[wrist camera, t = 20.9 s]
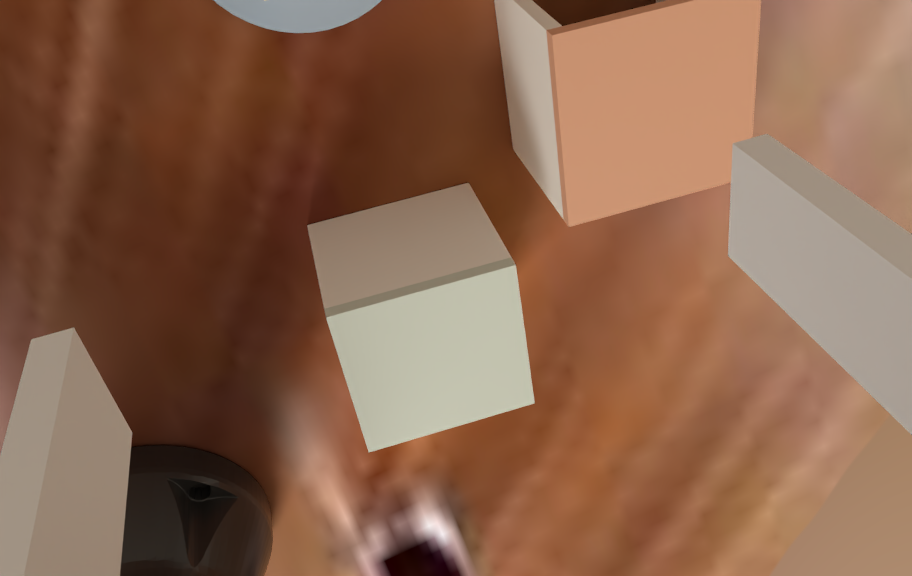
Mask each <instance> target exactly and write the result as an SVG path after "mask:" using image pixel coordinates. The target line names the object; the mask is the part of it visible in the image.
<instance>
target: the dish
mask: <svg viewBox="0 0 912 576" xmlns="http://www.w3.org/2000/svg"><path fill="white" fill-rule="evenodd" d="M214 1H215V2H216V3H217V4H218V5H220V6H221V7H223V8H224V9H226V10H227V11H229V12H230V13H232V14H233V15H235V16H237V17H239V18H241V19H243V20H245V21H247V22H249V23H252V24H254V25H257V26H260V27H263V28H266V29H271V30H275V31H280V32H290V33H312V32H318V31H324V30H329V29H332V28H335V27H339V26H342V25H344V24H346V23H348V22H351V21H353V20H355V19H357V18H359V17H360V16H362V15H363V14H365V13H366V12H368V11H370V10H371V9H372V8H373V7H374V6H376V5H377V4H378V3H379V2H380V1H382V0H266V1H264V0H214Z"/></svg>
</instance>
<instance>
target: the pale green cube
mask: <svg viewBox="0 0 912 576" xmlns="http://www.w3.org/2000/svg"><path fill="white" fill-rule="evenodd" d="M307 228H308V233H309V237H310V242H311V247H312V252H313V257H314V262H315V267H316V272H317V276H318V281H319V286H320V291H321V296H322V301H323V306H324V310H325V315H326V319H327V322H328V326H329V329H330V332H331V335H332V338H333V341H334V344H335V348H336V351H337V354H338V357H339V360H340V363H341V366H342V370H343V373H344V376H345V379H346V382H347V385H348V388H349V392H350V395H351V398H352V401H353V404H354V407H355V410H356V414H357V417H358V420H359V423H360V426H361V429H362V432H363V436H364V439H365V442H366V445H367V448H368V451H369V452H372V451H376V450H379V449H382V448H386V447H389V446H392V445H396V444H399V443H402V442H406V441H409V440H413V439H416V438H419V437H423V436H426V435H429V434H433V433H436V432H440V431H443V430H446V429H450V428H453V427H456V426H460V425H463V424H466V423H470V422H473V421H477V420H480V419H483V418H487V417H490V416H493V415H497V414H500V413H503V412H507V411H510V410H514V409H517V408H520V407H524V406H527V405H530V404H534V403H535V402H534V395H533V388H532V380H531V373H530V366H529V358H528V351H527V344H526V336H525V329H524V321H523V314H522V307H521V299H520V292H519V285H518V277H517V270H516V264H515V263H514V261H513V259H512V257H511V256H510V254H509V252H508V250H507V249H506V247H505V245H504V243H503V242H502V240H501V238H500V236H499V235H498V233H497V231H496V229H495V228H494V226H493V224H492V222H491V221H490V219H489V217H488V216H487V214H486V212H485V210H484V209H483V207H482V205H481V203H480V202H479V200H478V198H477V196H476V195H475V193H474V191H473V189H472V188H471V186H470V184H469V183H465V184H461V185H457V186H454V187H450V188H446V189H442V190H439V191H435V192H431V193H427V194H423V195H420V196H416V197H412V198H408V199H404V200H401V201H397V202H393V203H389V204H385V205H382V206H378V207H374V208H370V209H367V210H363V211H359V212H355V213H351V214H348V215H344V216H340V217H336V218H332V219H329V220H325V221H321V222H317V223H313V224H310V225H307Z"/></svg>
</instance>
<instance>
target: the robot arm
mask: <svg viewBox="0 0 912 576" xmlns="http://www.w3.org/2000/svg"><path fill="white" fill-rule="evenodd" d="M728 256H729V257H730V258H731V259H732V260H733V261H734V262H735V263H736V264H737V265H738V266H739V267H740V268H741V269H742V270H743V271H744V272H745V273H746V274H747V275H748V276H749V277H750V278H751V279H752V280H753V281H754V282H755V283H756V284H757V285H759V286H760V287H761V288H762V289H763V290H764V291H765V292H766V293H767V294H768V295H769V296H770V297H771V298H772V299H773V300H774V301H775V302H776V303H777V304H778V305H779V306H780V307H781V308H782V309H783V310H784V311H785V312H786V313H787V314H788V315H789V316H790V317H791V318H792V319H793V320H794V321H795V322H796V323H797V324H798V325H800V326H801V327H802V328H803V329H804V330H805V331H806V332H807V333H808V334H809V335H810V336H811V337H812V338H813V339H814V340H815V341H816V342H817V343H818V344H819V345H820V346H821V347H822V348H823V349H824V350H825V351H826V352H827V353H828V354H829V355H830V356H831V357H832V358H833V359H834V360H835V361H836V362H837V363H838V364H840V365H841V366H842V367H843V368H844V369H845V370H846V371H847V372H848V373H849V374H850V375H851V376H852V377H853V378H854V379H855V380H856V381H857V382H858V383H859V384H860V385H861V386H862V387H863V388H864V389H865V390H866V391H867V392H868V393H869V394H870V395H871V396H872V397H873V398H874V399H875V400H876V401H877V402H878V403H879V404H881V405H882V406H883V407H884V408H885V409H886V410H887V411H888V412H889V413H890V414H891V415H892V416H893V417H894V418H895V419H896V420H897V421H898V422H899V423H900V424H901V425H902V426H903V427H904V428H905V429H906V430H907V431H908V432H909V433H910V434H911V435H912V234H911V233H909V232H908V231H906V230H905V229H903V228H902V227H901V226H899V225H898V224H896V223H895V222H893V221H892V220H891V219H889V218H888V217H886V216H885V215H883V214H882V213H880V212H879V211H878V210H876V209H875V208H873V207H872V206H870V205H869V204H868V203H866V202H865V201H863V200H862V199H860V198H859V197H858V196H856V195H855V194H853V193H852V192H850V191H849V190H847V189H846V188H845V187H843V186H842V185H840V184H839V183H837V182H836V181H835V180H833V179H832V178H830V177H829V176H827V175H826V174H824V173H823V172H822V171H820V170H819V169H817V168H816V167H814V166H813V165H812V164H810V163H809V162H807V161H806V160H804V159H803V158H801V157H800V156H799V155H797V154H796V153H794V152H793V151H791V150H790V149H789V148H787V147H786V146H784V145H783V144H781V143H780V142H778V141H777V140H776V139H774V138H773V137H771V136H770V135H768V134H764V135H761V136H757V137H754V138H750V139H746V140H743V141H739V142H736V143H733V145H732V170H731V195H730V220H729V246H728ZM131 443H132V431H131V429H130V428H129V426H128V424H127V422H126V420H125V419H124V417H123V415H122V413H121V411H120V410H119V408H118V406H117V404H116V402H115V401H114V399H113V397H112V395H111V393H110V392H109V390H108V388H107V386H106V384H105V383H104V381H103V379H102V377H101V375H100V374H99V372H98V370H97V368H96V366H95V365H94V363H93V361H92V359H91V357H90V356H89V354H88V352H87V350H86V348H85V347H84V345H83V343H82V341H81V339H80V338H79V336H78V334H77V332H76V330H75V329H74V328H70V329H67V330H63V331H60V332H56V333H52V334H49V335H45V336H42V337H38V338H34V339H31V342H30V346H29V350H28V354H27V357H26V361H25V365H24V369H23V372H22V376H21V380H20V383H19V387H18V391H17V395H16V398H15V402H14V406H13V410H12V413H11V417H10V421H9V425H8V428H7V432H6V436H5V440H4V443H3V447H2V451H1V454H0V576H264V575H265V572H266V569H267V566H268V562H269V559H270V556H271V551H272V541H273V534H272V522H271V511H270V506H269V502H268V499H267V497H266V495H265V493H264V491H263V489H262V488H261V486H260V485H259V484H258V482H257V481H256V480H255V479H254V478H253V477H252V476H251V475H250V474H249V473H248V472H246V471H245V470H244V469H242V468H241V467H240V466H238V465H236V464H235V463H233V462H231V461H229V460H227V459H225V458H223V457H220V456H218V455H215V454H212V453H209V452H206V451H202V450H198V449H193V448H187V447H179V446H166V445H154V446H140V447H132V448H131Z"/></svg>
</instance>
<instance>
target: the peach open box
mask: <svg viewBox="0 0 912 576" xmlns="http://www.w3.org/2000/svg"><path fill="white" fill-rule="evenodd" d="M494 3H495V11H496V19H497V27H498V34H499V42H500V50H501V58H502V66H503V74H504V82H505V90H506V97H507V105H508V113H509V121H510V129H511V137H512V145H513V150H514V151H515V153H516V154H517V156H518V157H519V158H520V160H521V161H522V163H523V164H524V165H525V167H526V168H527V170H528V171H529V172H530V174H531V175H532V176H533V178H534V179H535V181H536V182H537V183H538V185H539V186H540V188H541V189H542V190H543V192H544V193H545V195H546V196H547V197H548V199H549V200H550V201H551V203H552V204H553V206H554V207H555V208H556V210H557V211H558V213H559V214H560V215H561V217H562V218H563V220H564V221H565V222H566V224H567V225H568V226H569V227H571V226H574V225H578V224H581V223H585V222H589V221H592V220H596V219H600V218H603V217H607V216H611V215H614V214H618V213H621V212H625V211H629V210H632V209H636V208H640V207H643V206H647V205H651V204H654V203H658V202H662V201H665V200H669V199H672V198H676V197H680V196H683V195H687V194H691V193H694V192H698V191H702V190H705V189H709V188H712V187H716V186H720V185H723V184H727V183H731V170H732V145H733V143H736V142H739V141H743V140H746V139H750V138H752V137H753V121H754V105H755V90H756V74H757V58H758V43H759V27H760V12H761V0H656V3H654V4H650V5H646V6H642V7H638V8H634V9H630V10H626V11H622V12H618V13H614V14H610V15H606V16H602V17H598V18H594V19H590V20H586V21H582V22H577V23H573V24H569V25H565V26H562V25H560V24H559V23H558V22H557V21H556V20H555V19H553V18H552V17H551V16H550V15H549V14H548V13H546V12H545V11H544V10H543V9H542V8H541V7H539V6H538V5H537V4H536V3H535V2H534V1H532V0H494Z"/></svg>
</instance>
